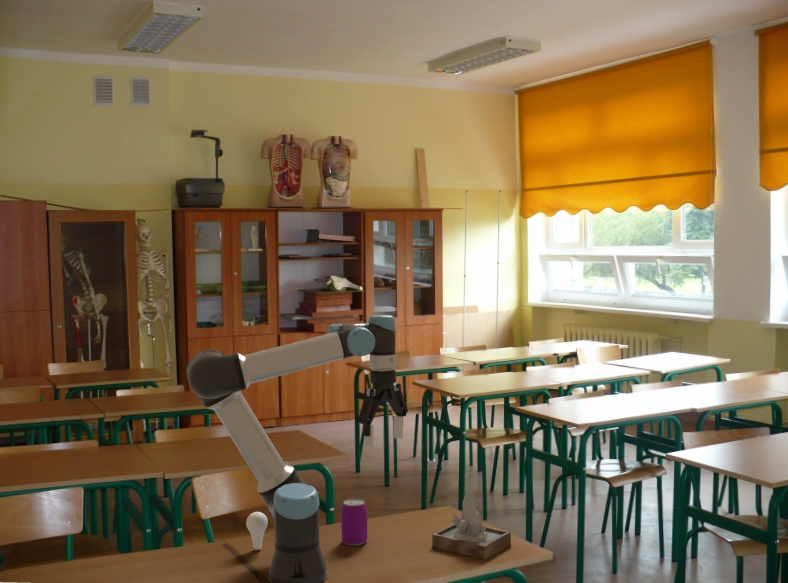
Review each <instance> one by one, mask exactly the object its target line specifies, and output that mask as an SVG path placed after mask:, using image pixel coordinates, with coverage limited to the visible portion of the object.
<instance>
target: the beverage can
mask: <svg viewBox="0 0 788 583" xmlns="http://www.w3.org/2000/svg"><path fill="white" fill-rule="evenodd" d="M342 503H343V504H342V507H341V510H340V517H341V518H340V521H341V522H340V523H341V524H340V525H341V526H340V528H341V541H342V542H343V544H345V545H347V546H351V547H355V546H357V545H358V546H362V545H364V544H365V543H366V542H368V537H369V536H368V508H367V505H366V502H365V500H363V499H361V498H360V499H359V498H349V499H345V500H344V501H343V502H342ZM361 544H362V545H361Z"/></svg>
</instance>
